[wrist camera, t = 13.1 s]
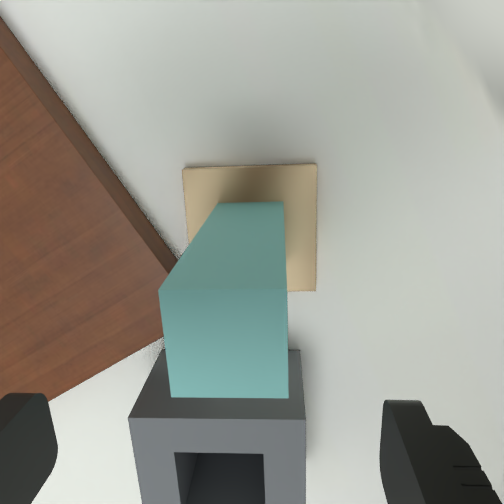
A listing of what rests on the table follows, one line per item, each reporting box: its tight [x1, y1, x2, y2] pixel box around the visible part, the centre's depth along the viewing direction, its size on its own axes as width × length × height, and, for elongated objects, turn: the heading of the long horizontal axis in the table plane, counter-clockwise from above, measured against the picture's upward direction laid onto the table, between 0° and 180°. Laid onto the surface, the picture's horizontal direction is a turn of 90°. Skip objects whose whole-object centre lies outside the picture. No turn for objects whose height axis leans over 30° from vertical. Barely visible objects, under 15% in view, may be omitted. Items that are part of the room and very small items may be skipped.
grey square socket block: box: [128, 350, 306, 504], centre depth 28 cm, size 10×10×7 cm
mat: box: [182, 163, 317, 291], centre depth 26 cm, size 8×8×1 cm
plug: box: [158, 201, 289, 398], centre depth 19 cm, size 4×4×13 cm
